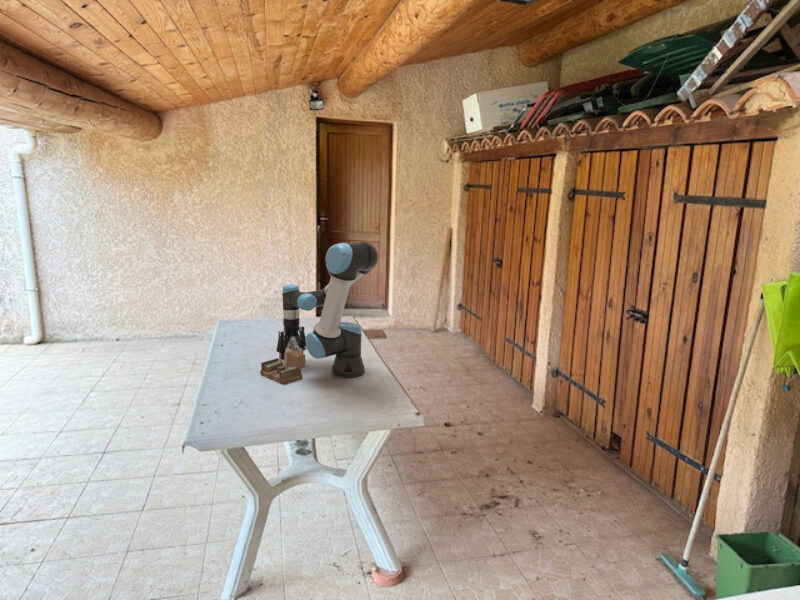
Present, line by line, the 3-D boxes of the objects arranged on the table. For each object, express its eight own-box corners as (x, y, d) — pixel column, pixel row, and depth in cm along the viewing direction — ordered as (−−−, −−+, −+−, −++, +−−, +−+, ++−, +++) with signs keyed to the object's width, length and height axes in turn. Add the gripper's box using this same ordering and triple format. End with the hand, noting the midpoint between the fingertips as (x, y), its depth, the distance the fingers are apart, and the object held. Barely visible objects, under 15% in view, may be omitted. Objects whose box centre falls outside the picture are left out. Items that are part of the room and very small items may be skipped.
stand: (302, 378, 227) (302, 366, 226) (284, 384, 220) (283, 372, 218) (278, 369, 238) (278, 357, 236) (260, 374, 230) (260, 363, 229)
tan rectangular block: (305, 366, 243) (305, 354, 241) (297, 368, 239) (297, 356, 238) (286, 359, 252) (286, 347, 250) (279, 361, 248) (278, 349, 247)
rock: (277, 350, 268) (279, 339, 261) (286, 338, 275) (289, 327, 268) (299, 362, 268) (302, 351, 260) (308, 349, 274) (311, 338, 267)
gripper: (304, 312, 251) (304, 356, 256) (267, 320, 235) (268, 366, 240) (314, 314, 246) (314, 359, 251) (277, 323, 230) (278, 370, 235)
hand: (292, 363), depth 245 cm, fingers open, 9 cm apart
